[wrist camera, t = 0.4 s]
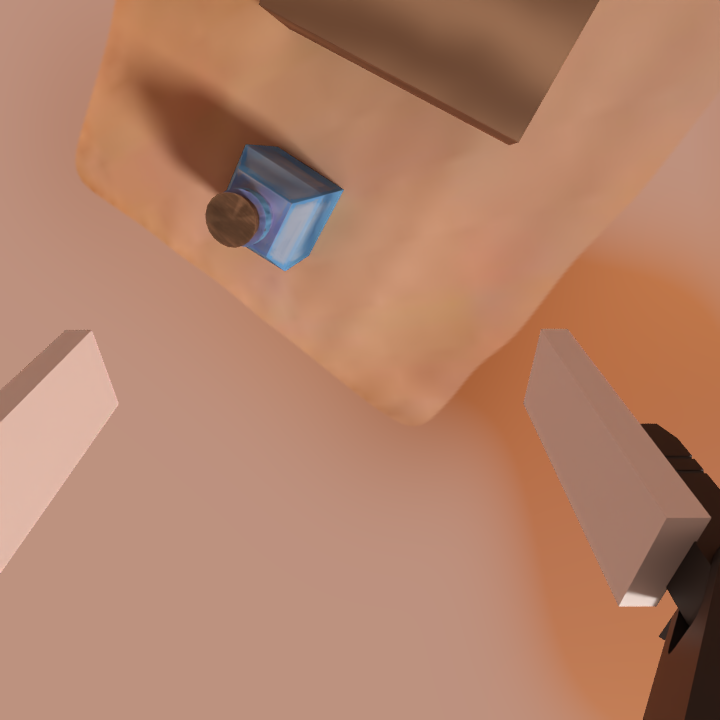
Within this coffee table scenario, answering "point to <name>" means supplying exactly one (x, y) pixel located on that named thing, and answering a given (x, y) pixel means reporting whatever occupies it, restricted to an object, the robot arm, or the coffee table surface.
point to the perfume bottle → (272, 206)
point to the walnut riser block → (451, 49)
